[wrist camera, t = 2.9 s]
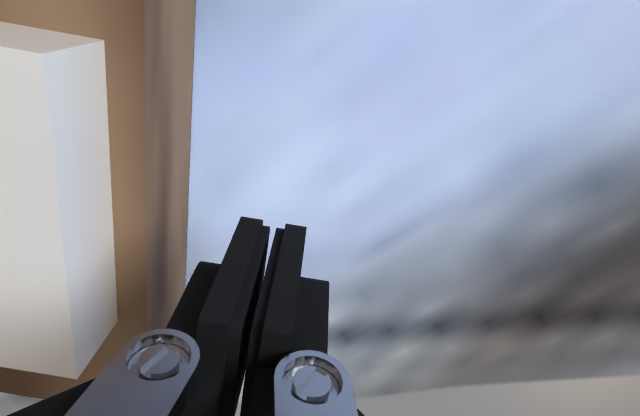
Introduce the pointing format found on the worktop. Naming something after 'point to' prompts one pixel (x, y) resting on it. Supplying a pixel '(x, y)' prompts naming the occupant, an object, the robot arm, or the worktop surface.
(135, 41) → the board
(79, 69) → the tile
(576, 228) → the worktop surface
